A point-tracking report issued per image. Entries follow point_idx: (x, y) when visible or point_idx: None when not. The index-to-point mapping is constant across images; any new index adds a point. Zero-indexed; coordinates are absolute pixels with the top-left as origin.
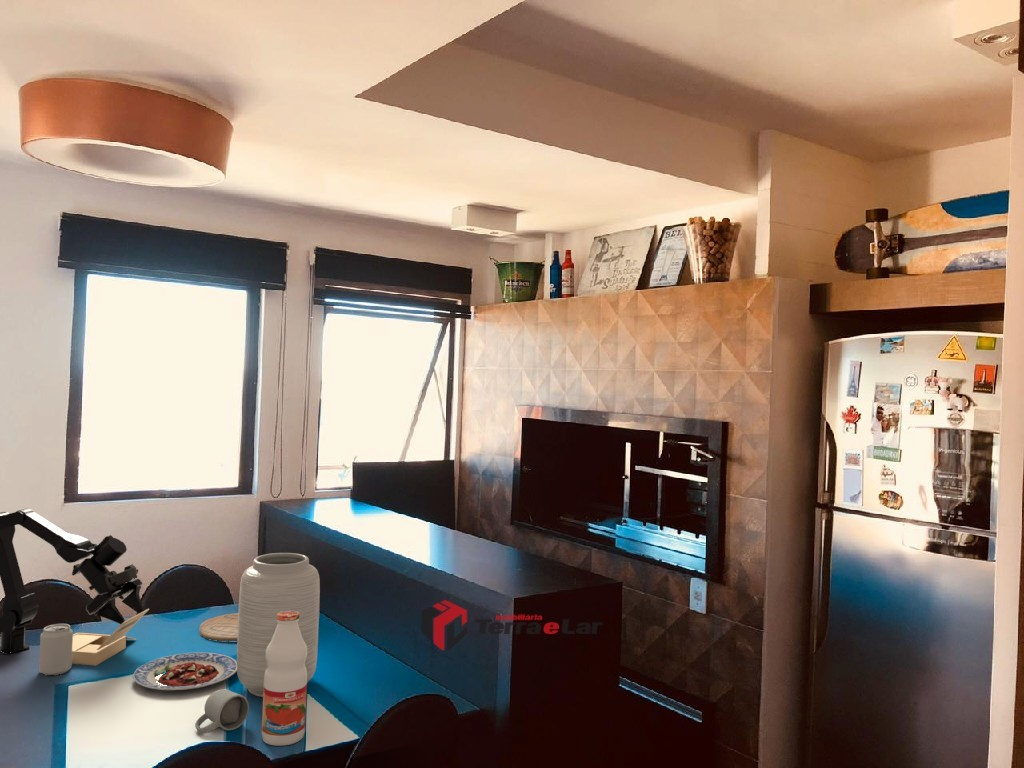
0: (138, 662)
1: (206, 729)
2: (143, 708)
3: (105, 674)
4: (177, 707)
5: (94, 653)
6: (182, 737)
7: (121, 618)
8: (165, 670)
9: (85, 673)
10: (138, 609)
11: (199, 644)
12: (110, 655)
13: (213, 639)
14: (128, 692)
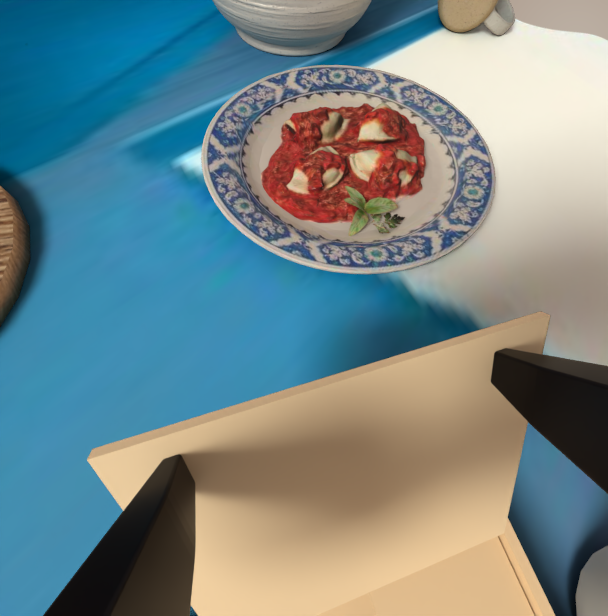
0: (337, 365)
1: (506, 10)
2: (524, 134)
3: None
4: (472, 93)
5: (509, 524)
6: (531, 38)
7: (565, 360)
8: (368, 207)
9: (535, 456)
10: (180, 539)
11: (74, 309)
12: None
13: (15, 288)
14: (505, 211)
